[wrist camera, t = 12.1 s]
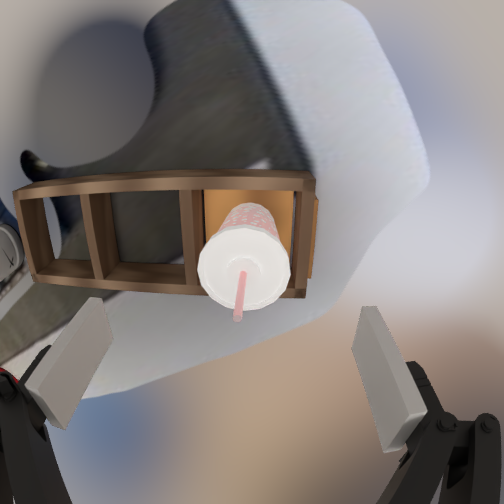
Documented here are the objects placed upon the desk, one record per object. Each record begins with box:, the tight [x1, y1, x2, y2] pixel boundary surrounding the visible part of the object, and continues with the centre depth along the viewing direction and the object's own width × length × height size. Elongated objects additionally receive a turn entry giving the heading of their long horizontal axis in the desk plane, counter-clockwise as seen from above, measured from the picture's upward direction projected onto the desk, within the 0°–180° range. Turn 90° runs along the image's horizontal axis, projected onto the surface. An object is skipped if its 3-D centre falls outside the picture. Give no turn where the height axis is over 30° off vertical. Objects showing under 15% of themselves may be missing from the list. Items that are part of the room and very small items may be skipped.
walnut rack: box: [13, 169, 318, 298], centre depth 27 cm, size 30×10×4 cm, turn 89°
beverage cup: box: [197, 203, 291, 322], centre depth 22 cm, size 6×6×14 cm
